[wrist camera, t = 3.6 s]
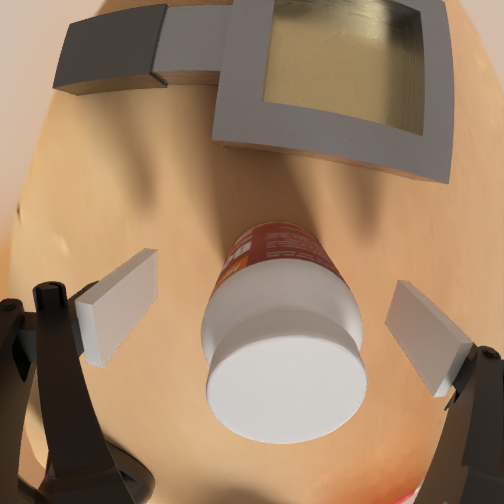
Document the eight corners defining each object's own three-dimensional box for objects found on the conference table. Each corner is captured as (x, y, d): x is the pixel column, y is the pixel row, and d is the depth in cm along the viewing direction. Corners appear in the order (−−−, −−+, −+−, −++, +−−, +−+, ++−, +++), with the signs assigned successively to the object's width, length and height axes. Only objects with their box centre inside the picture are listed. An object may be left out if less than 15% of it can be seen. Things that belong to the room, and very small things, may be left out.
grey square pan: (71, 144, 16) (34, 143, 12) (103, 0, 13) (78, -21, 9) (414, 179, 16) (448, 184, 12) (418, 23, 12) (444, 2, 9)
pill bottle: (237, 209, 17) (191, 276, 6) (337, 232, 17) (428, 323, 6) (218, 302, 19) (173, 438, 8) (309, 321, 19) (342, 460, 8)
